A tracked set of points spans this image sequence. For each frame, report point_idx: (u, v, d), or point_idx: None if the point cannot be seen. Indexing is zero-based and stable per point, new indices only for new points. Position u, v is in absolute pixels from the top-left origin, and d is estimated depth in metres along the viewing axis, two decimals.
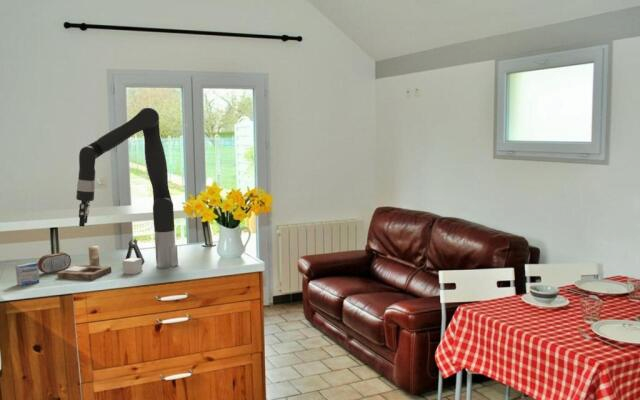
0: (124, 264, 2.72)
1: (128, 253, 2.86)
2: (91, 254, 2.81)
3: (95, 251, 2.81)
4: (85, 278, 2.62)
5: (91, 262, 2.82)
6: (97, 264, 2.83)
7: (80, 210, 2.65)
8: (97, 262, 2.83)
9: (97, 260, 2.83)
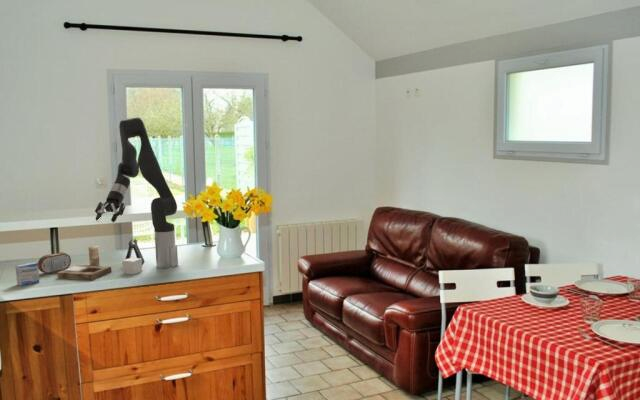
0: (124, 264, 2.72)
1: (128, 253, 2.86)
2: (91, 254, 2.81)
3: (95, 251, 2.81)
4: (85, 278, 2.62)
5: (91, 262, 2.82)
6: (97, 264, 2.83)
7: None
8: (97, 262, 2.83)
9: (97, 260, 2.83)
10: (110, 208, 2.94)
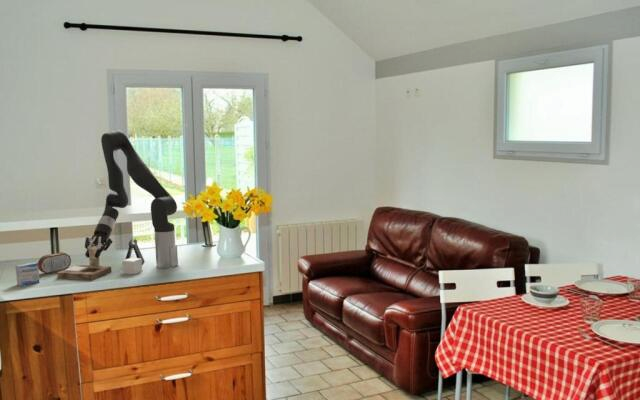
0: (124, 264, 2.72)
1: (128, 253, 2.86)
2: (91, 254, 2.81)
3: (95, 251, 2.81)
4: (85, 278, 2.62)
5: (91, 262, 2.82)
6: (97, 264, 2.83)
7: None
8: (97, 262, 2.83)
9: (97, 260, 2.83)
10: (97, 241, 2.85)
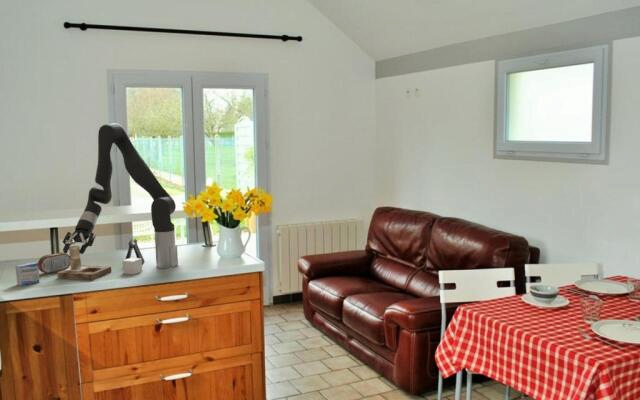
0: (124, 264, 2.72)
1: (128, 253, 2.86)
2: (72, 254, 2.68)
3: (76, 251, 2.69)
4: (85, 278, 2.62)
5: (72, 263, 2.69)
6: (78, 265, 2.70)
7: None
8: (78, 263, 2.70)
9: (78, 261, 2.70)
10: (79, 238, 2.72)
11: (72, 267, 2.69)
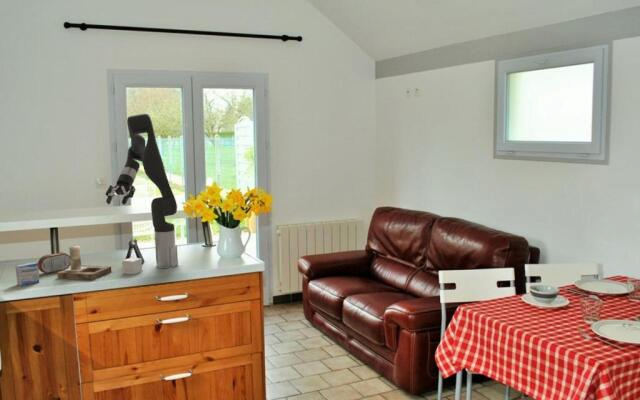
0: (124, 264, 2.72)
1: (128, 253, 2.86)
2: (72, 254, 2.68)
3: (76, 251, 2.69)
4: (85, 278, 2.62)
5: (72, 263, 2.69)
6: (78, 265, 2.70)
7: None
8: (78, 263, 2.70)
9: (78, 261, 2.70)
10: (120, 191, 2.97)
11: (72, 267, 2.69)
